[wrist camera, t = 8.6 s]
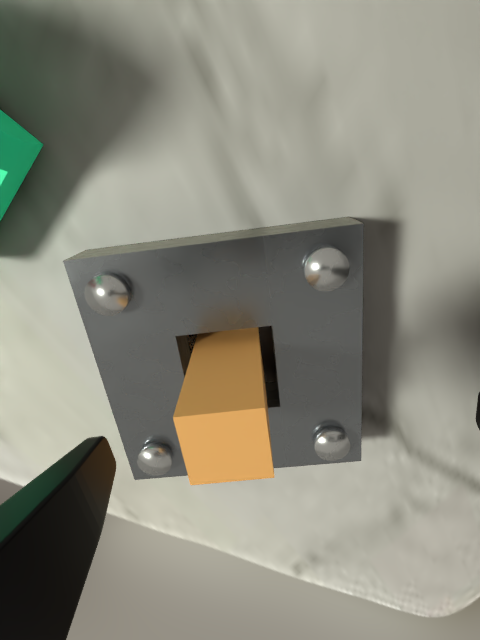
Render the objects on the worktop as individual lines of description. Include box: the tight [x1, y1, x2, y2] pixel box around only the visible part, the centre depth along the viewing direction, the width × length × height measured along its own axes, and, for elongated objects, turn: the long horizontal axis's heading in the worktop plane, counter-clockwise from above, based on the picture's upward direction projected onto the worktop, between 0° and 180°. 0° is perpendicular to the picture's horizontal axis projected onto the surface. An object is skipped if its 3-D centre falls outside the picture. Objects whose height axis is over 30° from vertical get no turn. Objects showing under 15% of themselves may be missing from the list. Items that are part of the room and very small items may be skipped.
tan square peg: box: [173, 327, 274, 485], centre depth 17 cm, size 4×4×8 cm
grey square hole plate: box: [63, 217, 364, 480], centre depth 20 cm, size 14×14×3 cm
